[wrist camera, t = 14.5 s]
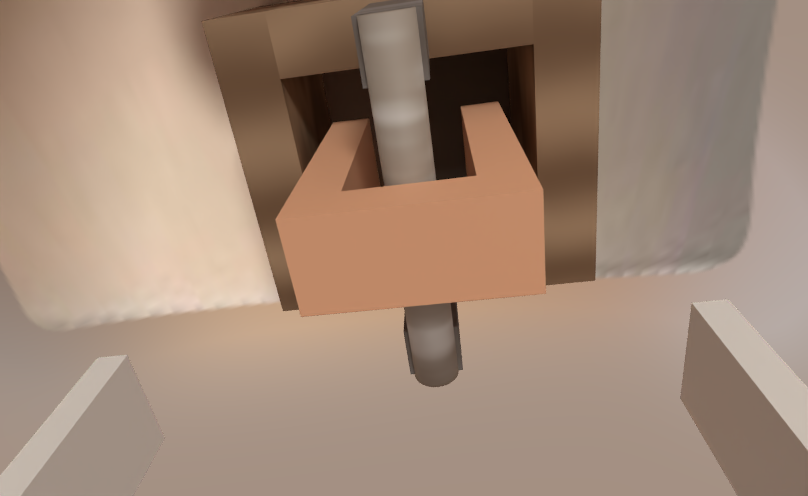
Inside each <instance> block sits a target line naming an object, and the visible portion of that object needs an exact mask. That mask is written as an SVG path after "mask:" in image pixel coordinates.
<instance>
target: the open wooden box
mask: <svg viewBox="0 0 808 496" xmlns="http://www.w3.org/2000/svg"><path fill="white" fill-rule="evenodd" d="M202 25H203V28H204V32H205V35H206V39H207V43H208V46H209V50H210V53H211V57H212V60H213V64H214V67H215V71H216V74H217V78H218V82H219V85H220V89H221V92H222V96H223V99H224V103H225V106H226V110H227V114H228V117H229V121H230V124H231V128H232V131H233V135H234V138H235V142H236V145H237V149H238V153H239V156H240V160H241V163H242V167H243V170H244V174H245V177H246V181H247V184H248V188H249V192H250V195H251V199H252V202H253V206H254V209H255V213H256V216H257V220H258V224H259V227H260V231H261V234H262V238H263V241H264V245H265V248H266V252H267V255H268V259H269V263H270V266H271V270H272V273H273V277H274V280H275V284H276V287H277V291H278V294H279V298H280V302H281V305H282V308H283V311H288V310H299V307H298V303H297V299H296V296H295V292H294V288H293V284H292V281H291V277H290V273H289V269H288V266H287V262H286V258H285V254H284V250H283V247H282V243H281V239H280V235H279V232H278V228H277V224H276V220H275V219H276V218H277V216H278V214H279V213H280V211H281V209H282V208H283V206H284V204H285V203H286V201H287V199H288V197H289V196H290V194H291V192H292V191H293V189H294V187H295V186H296V184H297V182H298V181H299V179H300V177H301V176H302V174H303V172H304V171H305V169H306V167H307V166H308V164H309V162H310V161H311V159H312V157H313V156H314V154H315V152H316V151H317V149H318V147H319V146H320V144H321V142H322V141H323V139H324V137H325V135H326V134H327V132H328V130H329V129H330V127H331V125H332V124H331V119H330V114H329V109H328V104H327V99H326V94H325V89H324V84H323V79H322V74H321V73H328V72H336V71H343V70H350V69H357V68H360V74H361V80H362V86H363V89H365V88H368V89H369V95H370V101H371V108H372V114H373V120H374V126H375V132H376V138H377V144H378V151H379V157H380V163H381V169H382V175H383V181H384V186H392V185H401V184H409V183H418V182H426V181H435V180H436V175H435V166H434V158H433V149H432V141H431V132H430V123H429V115H428V106H427V98H426V89H425V81H424V80H430V65H429V59H430V58H437V57H444V56H451V55H459V54H466V53H473V52H480V51H487V50H495V49H502V48H507V61H508V80H509V100H510V120H511V128H512V130H513V132H514V133H515V135H516V137H517V139H518V141H519V143H520V145H521V147H522V149H523V151H524V153H525V155H526V157H527V159H528V161H529V163H530V165H531V166H532V168H533V170H534V172H535V174H536V176H537V178H538V180H539V182H540V184H541V186H542V188H543V196H544V237H545V277H546V285H553V284H564V283H573V282H584V281H594V280H595V268H596V223H597V178H598V133H599V88H600V43H601V0H300V1H294V2H287V3H280V4H274V5H267V6H261V7H256V8H252V9H248V10H244V11H240V12H236V13H232V14H229V15H225V16H221V17H217V18H213V19H209V20H205V21H202ZM404 310H405V319H404V337H405V343H406V348H407V354H408V360H409V366H410V372H411V374H415V377H416V379H417V380H418V381H419V382H420V383H421V384H423V385H426V386H429V387H440V386H444V385H447V384H449V383H450V382H452V381H453V380H455V378H456V377H457V375H458V370H463V367H462V355H461V345H460V334H459V323H458V312H457V302H452V303H442V304H431V305H420V306H410V307H404Z"/></svg>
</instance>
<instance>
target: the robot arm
mask: <svg viewBox="0 0 808 496" xmlns="http://www.w3.org/2000/svg"><path fill="white" fill-rule="evenodd" d="M680 398H681V400H682V402H683V403H684V405H685V407H686V409H687V410H688V412H689V414H690V416H691V417H692V419H693V420H694V422H695V424H696V426H697V427H698V429H699V431H700V433H701V434H702V436H703V438H704V439H705V441H706V443H707V444H708V446H709V448H710V450H711V451H712V453H713V455H714V456H715V458H716V460H717V461H718V463H719V465H720V467H721V468H722V470H723V472H724V473H725V475H726V477H727V478H728V480H729V482H730V484H731V485H732V487H733V489H734V490H735V492H736V494H737V495H738V496H808V388H807V386H806V385H805V384H804V383H803V382H802V381H801V380H800V379H799V378H798V377H797V375H796V374H795V373H794V372H793V371H792V370H791V369H790V368H789V367H788V365H787V364H786V363H785V362H784V361H783V360H782V359H781V358H780V357H779V355H778V354H777V353H776V352H775V351H774V350H773V349H772V348H771V347H770V346H769V344H768V343H767V342H766V341H765V340H764V339H763V338H762V337H761V335H760V334H759V333H758V332H757V331H756V330H755V329H754V328H753V327H752V325H751V324H750V323H749V322H748V321H747V320H746V319H745V318H744V317H743V315H742V314H741V313H740V312H739V311H738V310H737V309H736V308H735V307H734V306H733V304H732V303H731V302H730V301H729V300H718V301H706V302H696V303H692V305H691V313H690V322H689V330H688V338H687V347H686V355H685V363H684V372H683V380H682V389H681V396H680ZM164 439H165V437H164V435H163V432H162V430H161V428H160V426H159V424H158V421H157V419H156V417H155V415H154V413H153V411H152V408H151V406H150V404H149V402H148V399H147V397H146V395H145V393H144V391H143V389H142V386H141V384H140V382H139V380H138V378H137V376H136V373H135V371H134V369H133V366H132V364H131V362H130V360H129V358H128V355H122V356H110V357H100V358H97V359H96V360H95V361H94V363H93V364H92V365H91V366H90V367H89V369H88V370H87V371H86V372H85V373H84V375H83V376H82V377H81V378H80V380H79V381H78V382H77V383H76V384H75V385H74V387H73V388H72V389H71V390H70V392H69V393H68V394H67V395H66V396H65V398H64V399H63V400H62V401H61V402H60V404H59V405H58V406H57V407H56V409H55V410H54V411H53V412H52V413H51V415H50V416H49V417H48V418H47V419H46V421H45V422H44V423H43V424H42V425H41V427H40V428H39V429H38V430H37V431H36V433H35V434H34V435H33V436H32V438H31V439H30V440H29V441H28V442H27V443H26V445H25V446H24V447H23V448H22V450H21V451H20V452H19V453H18V455H17V456H16V457H15V458H14V459H13V460H12V462H11V463H10V464H9V465H8V466H7V468H6V469H5V470H4V471H3V472H2V474H1V475H0V496H133V495H134V494H135V492H136V490H137V488H138V486H139V485H140V483H141V481H142V479H143V477H144V476H145V473H146V472H147V470H148V468H149V466H150V465H151V463H152V461H153V459H154V457H155V455H156V453H157V452H158V450H159V448H160V446H161V444H162V443H163V441H164Z"/></svg>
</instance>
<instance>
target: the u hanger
mask: <svg viewBox="0 0 808 496" xmlns="http://www.w3.org/2000/svg"><path fill="white" fill-rule="evenodd" d="M461 117H462V128H463V139H464V150H465V161H466V172H467V177H461V178H452V179H444V180H435V181H426V182H418V183H409V184H401V185H392V186H383V187H380V181H379V175H378V169H377V163H376V157H375V151H374V145H373V139H372V133H371V127H370V121H369V118H364V119H356V120H349V121H341V122H333V124H332V125H331V127H330V129H329V130H328V132H327V134H326V135H325V137H324V139H323V141H322V142H321V144H320V146H319V147H318V149H317V151H316V152H315V154H314V156H313V157H312V159H311V161H310V162H309V164H308V166H307V167H306V169H305V171H304V172H303V174H302V176H301V177H300V179H299V181H298V182H297V184H296V186H295V187H294V189H293V191H292V192H291V194H290V196H289V197H288V199H287V201H286V203H285V204H284V206H283V208H282V209H281V211H280V213H279V214H278V216H277V218H276V219H275V220H276V224H277V228H278V232H279V235H280V239H281V243H282V247H283V250H284V254H285V258H286V262H287V266H288V269H289V273H290V277H291V281H292V284H293V288H294V292H295V296H296V299H297V303H298V307H299V311H300V314H301V317H304V316H315V315H325V314H335V313H347V312H357V311H367V310H377V309H389V308H399V307H410V306H420V305H431V304H442V303H452V302H463V301H473V300H484V299H494V298H505V297H515V296H525V295H537V294H545V293H546V277H545V237H544V196H543V188H542V186H541V184H540V182H539V180H538V178H537V176H536V174H535V172H534V170H533V168H532V166H531V165H530V163H529V161H528V159H527V157H526V155H525V153H524V151H523V149H522V147H521V145H520V143H519V141H518V139H517V137H516V135H515V133H514V132H513V130H512V128H511V126H510V124H509V122H508V120H507V118H506V116H505V114H504V112H503V110H502V108H501V106H500V104H499V102H498V101H496V102H488V103H481V104H473V105H465V106H461Z"/></svg>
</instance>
